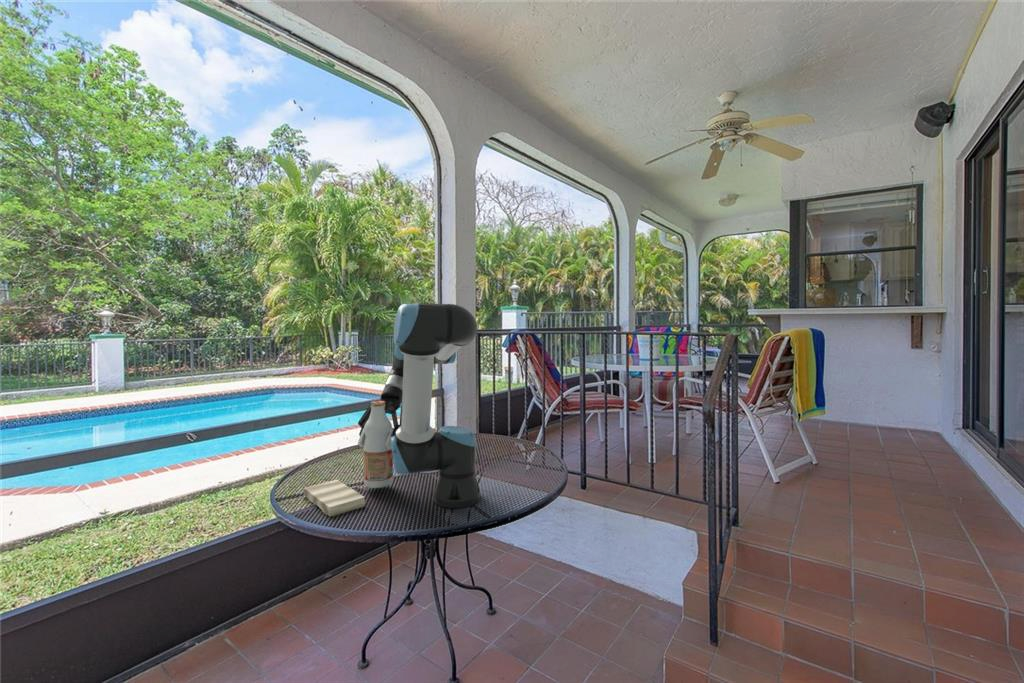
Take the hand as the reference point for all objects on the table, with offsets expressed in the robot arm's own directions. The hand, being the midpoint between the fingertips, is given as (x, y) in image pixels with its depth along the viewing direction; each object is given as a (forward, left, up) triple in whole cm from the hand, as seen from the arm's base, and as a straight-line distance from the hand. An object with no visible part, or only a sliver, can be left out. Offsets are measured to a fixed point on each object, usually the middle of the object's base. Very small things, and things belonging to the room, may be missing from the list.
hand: (373, 446), depth 148 cm
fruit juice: (+2, -3, -14) cm, 14 cm away
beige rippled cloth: (+3, +12, -16) cm, 21 cm away
